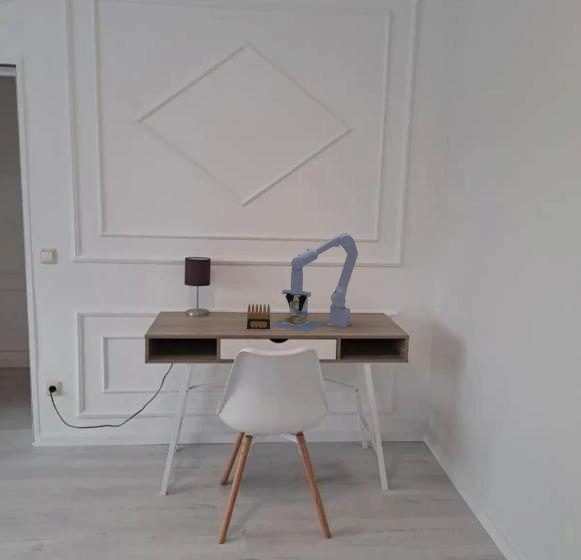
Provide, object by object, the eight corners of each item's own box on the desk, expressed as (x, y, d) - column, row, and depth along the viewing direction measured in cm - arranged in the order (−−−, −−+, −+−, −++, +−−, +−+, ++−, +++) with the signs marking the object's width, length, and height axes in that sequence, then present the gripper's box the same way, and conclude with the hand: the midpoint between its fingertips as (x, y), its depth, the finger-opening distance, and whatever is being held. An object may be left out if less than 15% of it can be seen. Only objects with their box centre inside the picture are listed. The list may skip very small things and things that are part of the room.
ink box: (307, 316, 268) (308, 288, 266) (300, 317, 265) (301, 289, 263) (297, 313, 275) (298, 286, 273) (290, 314, 272) (290, 286, 270)
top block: (302, 311, 251) (302, 301, 250) (297, 313, 247) (298, 303, 246) (293, 310, 253) (294, 300, 252) (289, 312, 249) (289, 302, 248)
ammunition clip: (246, 329, 236) (247, 303, 235) (246, 328, 238) (247, 303, 236) (270, 330, 237) (270, 304, 235) (270, 329, 238) (270, 303, 237)
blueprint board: (324, 325, 250) (324, 323, 250) (308, 332, 234) (308, 331, 234) (287, 320, 259) (287, 318, 258) (269, 327, 243) (269, 325, 243)
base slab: (306, 322, 253) (306, 316, 252) (299, 325, 246) (299, 319, 245) (291, 320, 256) (292, 314, 256) (284, 323, 249) (284, 317, 249)
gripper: (279, 281, 248) (278, 309, 250) (306, 284, 241) (305, 313, 243) (286, 280, 254) (285, 307, 256) (313, 282, 248) (312, 310, 250)
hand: (295, 310), depth 250 cm, fingers closed on top block, 4 cm apart
